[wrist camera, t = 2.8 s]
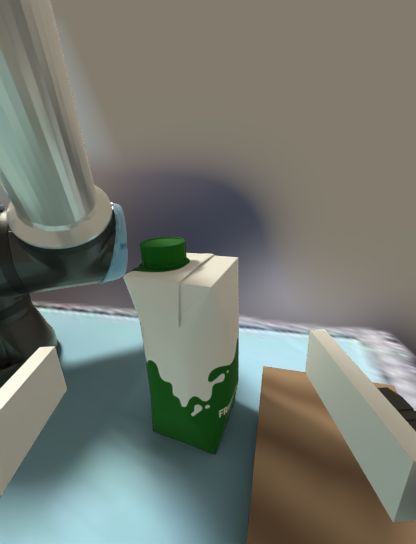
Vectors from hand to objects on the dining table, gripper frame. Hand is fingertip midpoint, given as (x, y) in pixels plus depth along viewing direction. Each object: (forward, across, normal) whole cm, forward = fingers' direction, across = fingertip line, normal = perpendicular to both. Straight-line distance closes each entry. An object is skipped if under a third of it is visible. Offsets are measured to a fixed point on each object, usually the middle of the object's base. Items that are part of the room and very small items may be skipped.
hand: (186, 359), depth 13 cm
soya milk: (+11, 0, -16) cm, 20 cm away
